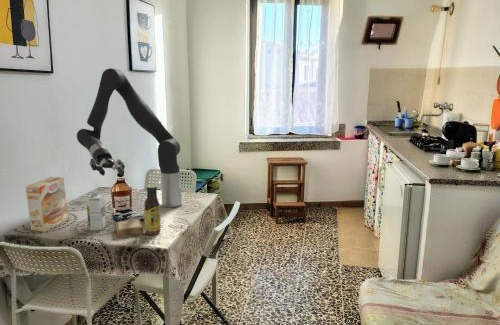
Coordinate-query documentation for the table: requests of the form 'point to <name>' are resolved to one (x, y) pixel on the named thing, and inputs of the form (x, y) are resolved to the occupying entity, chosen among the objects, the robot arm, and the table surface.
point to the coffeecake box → (46, 203)
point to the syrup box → (96, 211)
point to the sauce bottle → (152, 211)
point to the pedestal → (129, 228)
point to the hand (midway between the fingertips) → (113, 173)
